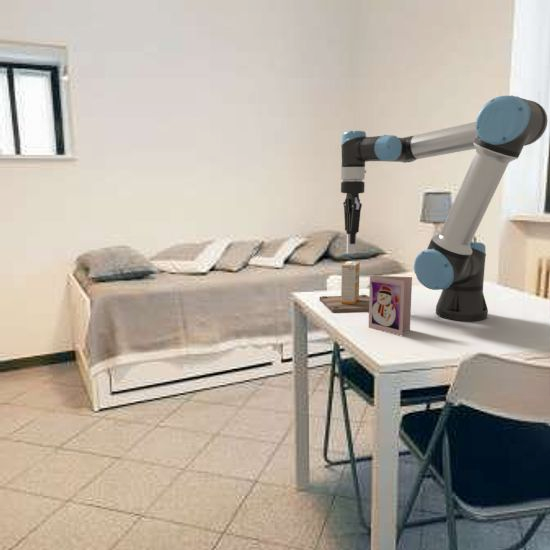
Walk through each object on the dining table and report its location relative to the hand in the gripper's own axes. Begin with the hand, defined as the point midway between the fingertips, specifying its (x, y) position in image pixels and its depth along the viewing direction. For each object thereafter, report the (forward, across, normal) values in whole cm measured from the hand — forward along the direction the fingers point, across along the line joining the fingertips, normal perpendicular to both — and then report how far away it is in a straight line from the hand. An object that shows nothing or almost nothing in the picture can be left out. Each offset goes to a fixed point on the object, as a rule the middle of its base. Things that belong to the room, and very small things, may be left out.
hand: (351, 253), depth 174 cm
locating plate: (+18, 0, 0) cm, 18 cm away
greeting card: (+18, -31, -3) cm, 35 cm away
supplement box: (+17, 0, 0) cm, 17 cm away
